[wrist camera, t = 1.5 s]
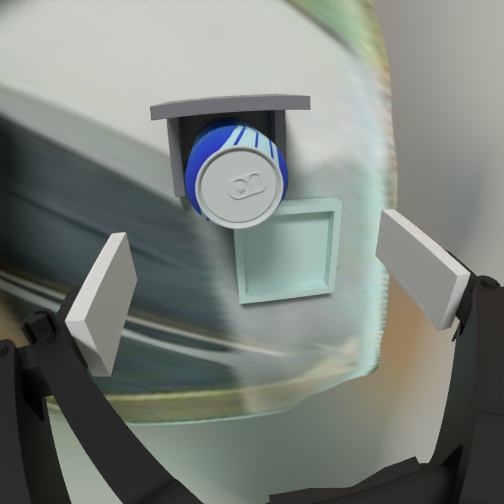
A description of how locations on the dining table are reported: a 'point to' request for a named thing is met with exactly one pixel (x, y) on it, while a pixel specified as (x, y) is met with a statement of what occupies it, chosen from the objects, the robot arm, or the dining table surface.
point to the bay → (221, 105)
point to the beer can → (235, 174)
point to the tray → (289, 251)
